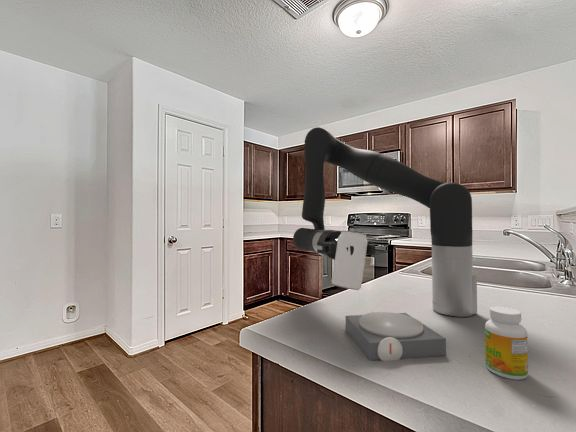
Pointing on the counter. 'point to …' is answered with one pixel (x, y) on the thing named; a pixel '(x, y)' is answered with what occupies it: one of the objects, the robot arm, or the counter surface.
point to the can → (349, 260)
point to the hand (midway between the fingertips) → (362, 250)
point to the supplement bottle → (506, 344)
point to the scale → (394, 336)
